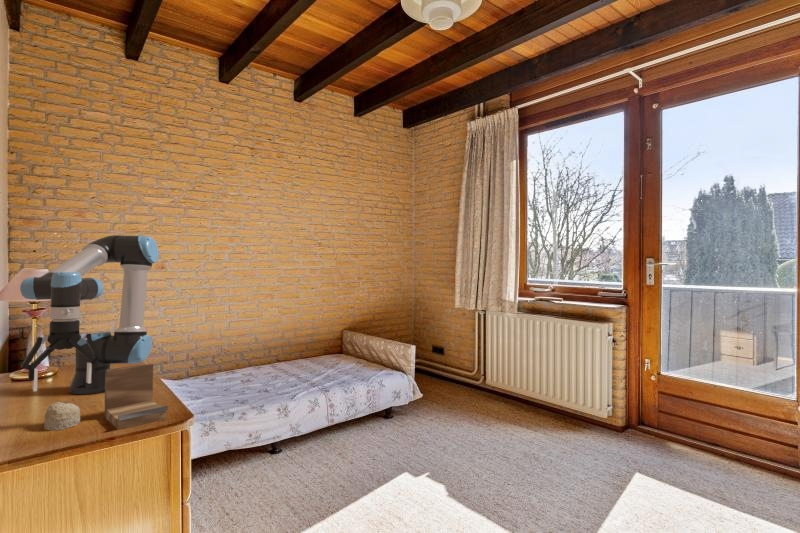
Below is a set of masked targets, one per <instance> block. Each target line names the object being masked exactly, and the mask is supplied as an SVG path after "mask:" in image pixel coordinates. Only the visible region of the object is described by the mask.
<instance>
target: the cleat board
mask: <svg viewBox="0 0 800 533" xmlns="http://www.w3.org/2000/svg"><path fill="white" fill-rule="evenodd" d="M153 379H154V363H146V364H145V363H143V364H138V365H131V366H122V367H115V368H110V369H107V370H105V391H104V415H103V417H104V418H105V420H107V421H108V422H109V423H110V424H111V425H112V426H114V428H115V429H116V430H117V431H118V430H122V429H127V428H131V427H136V426H140V425H144V424H149V423H153V422H157V421H161V420H166V419H167V413H168V412H167V411H168V410H169V406H168V405H167V404H166V405H160V404H159V403H157V402H155V401H154V400H153V398H154V397H153V389H154V388H153V386H154V380H153Z"/></svg>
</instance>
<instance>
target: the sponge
mask: <svg viewBox="0 0 800 533" xmlns="http://www.w3.org/2000/svg"><path fill="white" fill-rule="evenodd" d="M43 421H44V424H43V429H45V430H46V431H59V430H60V431H61V430H64V429H68V428H72V427H74V426H77V425H79V424H80V421H81V409H80V407H79V406H78V405H77V404H74V403H71V402H64V401H63V402H62V401H56V402H55V403H51V404H49V406H48V407H47V409H46V412H45V413H44V419H43Z"/></svg>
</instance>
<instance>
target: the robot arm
mask: <svg viewBox="0 0 800 533" xmlns="http://www.w3.org/2000/svg"><path fill="white" fill-rule="evenodd" d="M159 256H160V254H159V247H158V244H157V242H156V240H155V239H154V238H153V237H152V236H145V235H121V234H120V235H117V234H116V235H115V234H114V235H107V236H104V237H101V238H98V239H96V240H94V241H91V242H89V243H88V244H86V245H85V246H83V248H82V249H81V251H80V252H79V253H77V254H75V255H74V256H72V257H70V258H68V259H67V260H65V261H64V262H62V263H61V264H59V265H57V266H56V267H55V268H53V269H51V270H50V271H47V273H44V274H43V275H42V276H39V277H37V276H31V277H26V278H25V279H23V280H22V282H21V284H20V286H19V290H20V293H21V296H22V298H24V299H26V300H36V301H40V300H42V301H43V300H46V301H47V300H50V310H49V312H50V313H49V320H51V321H50V322H49V330H48V331H49V332H48V333H49V334H48V336H47V337H45V336H43V337H42V336H36V337H35V342H34V345H32V348H31V349H30V351H29V352H28V353H27V355H26V357H25V358H24V360H23V361H22V363H21V365H20V368H21V369H23V370H28V373H27V374H28V375H27V376H28V380H29V381H32V392H38V377H39V376H38V375H39V374H38V373H39V370H38V368H37V367H38V366H39V365H40V364H41V363H42V362H43V361H44V360H45V359H46V358H47V357H48V356H49V355H50V354H51V353H52V352H54V351H55V350H58V351H60V350H71V349H73V348H74V349H75V361H74V362H75V364H74V365H75V369H74V375H73V377H72V380H71V382H70V385H69V388H68V389H69V391H68V392H69V393H70V394H72V395H89V394H90V395H91V394H97V393H101V392H102V393H103V392H105V370H107V369H111V365H112V364H113V365H116V364H117V365H118V364H119V365H120V364H123V365H124V364H125V365H126V364H127V365H128V364H129V365H132V364H140V363H143V362H144V361H146V360H147V359H148V356H150V353H151V351H152V347H153V340H152V337H151V336H150V335H149V334H148V330H147V329H146V328H145V327H144V321H145V319H144V318H145V308H146V297H147V296H146V294H147V293H146V292H147V284H148V283H147V282H148V271H149V270H151V269H152V268H153V264H156V263H157V262H158V260H159ZM106 263H119V266H120V268H121V269H122V270H123V276H122V277H123V279H122V289H121V301H120V313H119V322H118V323H119V324H118V325H119V326H118V327H117V328H116V329H115V330H114V332H113V335H112V332H111V331H101V332H100V331H99V332H94V333H90V332H86V333H83V334H80V320H79V319H80V318H81V301H86V300H88V301H89V300H95V299H98V298H99V297H100V296H102V294H103V292H104V289H105V288H104V284H103V283H102V281H101V280H100V279H97V278H94V277H83V276H84V275H86V274H87V273H89V272H91V270H93V269H94V268H96V267H101V266H103V265H105V264H106ZM45 342H48V343H49V345H48V347H47V348H46V349H44V350H43V352H42V353H40V354H39V355H38V356H37V358H35V359H34V357H35V355H36V354H37V352H38V351H39V349H40V348H41V346H42V345H43V344H45ZM33 359H34V361H33V362H32V360H33Z"/></svg>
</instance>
